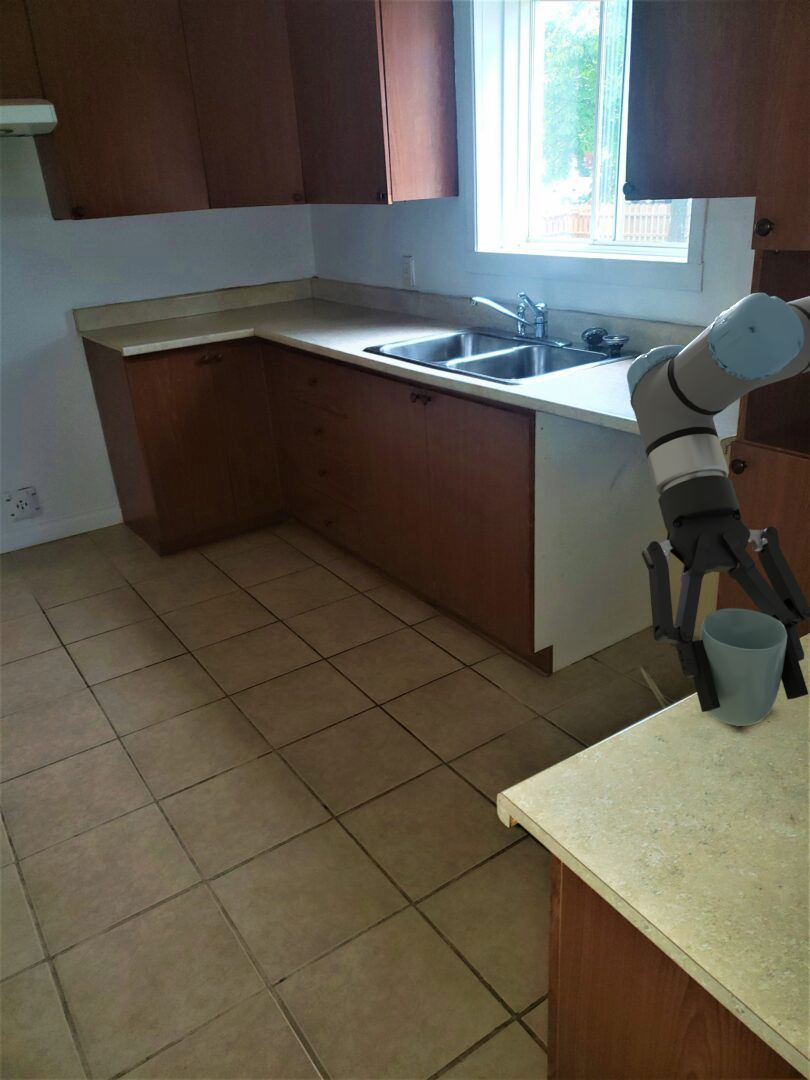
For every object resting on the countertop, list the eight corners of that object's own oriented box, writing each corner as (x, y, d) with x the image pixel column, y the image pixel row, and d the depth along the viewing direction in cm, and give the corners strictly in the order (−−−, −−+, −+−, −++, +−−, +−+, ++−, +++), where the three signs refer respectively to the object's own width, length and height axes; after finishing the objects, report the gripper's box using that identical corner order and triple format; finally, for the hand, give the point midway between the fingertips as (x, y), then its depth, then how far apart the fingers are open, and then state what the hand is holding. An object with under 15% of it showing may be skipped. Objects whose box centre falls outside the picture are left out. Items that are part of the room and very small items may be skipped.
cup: (782, 702, 84) (795, 618, 79) (765, 746, 78) (778, 659, 74) (705, 681, 88) (713, 600, 83) (683, 722, 82) (691, 638, 78)
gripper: (771, 489, 90) (836, 694, 83) (588, 512, 88) (637, 723, 81) (805, 460, 83) (879, 681, 75) (606, 484, 81) (663, 713, 74)
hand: (754, 703), depth 78 cm, fingers closed on cup, 8 cm apart
